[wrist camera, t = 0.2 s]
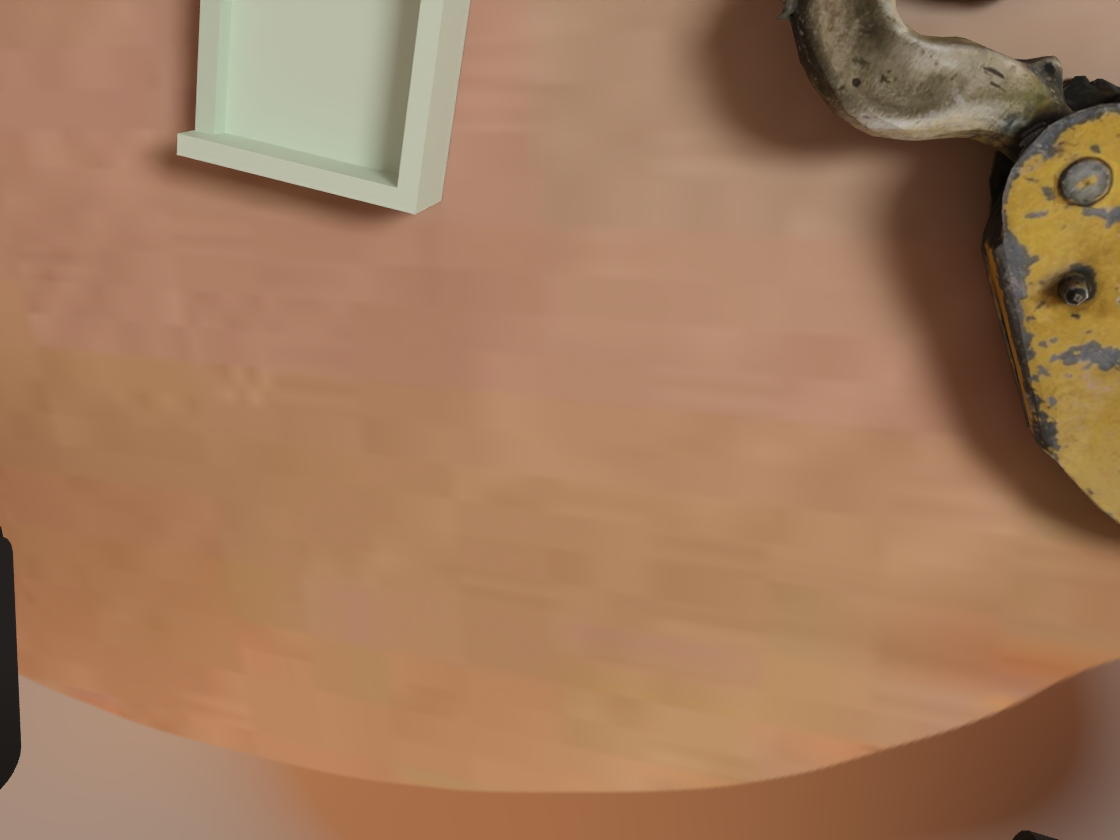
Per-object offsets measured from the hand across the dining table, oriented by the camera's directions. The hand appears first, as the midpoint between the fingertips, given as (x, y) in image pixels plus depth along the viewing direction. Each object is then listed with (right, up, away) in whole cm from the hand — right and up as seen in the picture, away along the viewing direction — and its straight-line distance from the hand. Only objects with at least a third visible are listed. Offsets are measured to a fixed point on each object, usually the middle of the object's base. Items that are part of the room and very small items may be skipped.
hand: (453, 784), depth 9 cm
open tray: (-7, +18, +28) cm, 35 cm away
